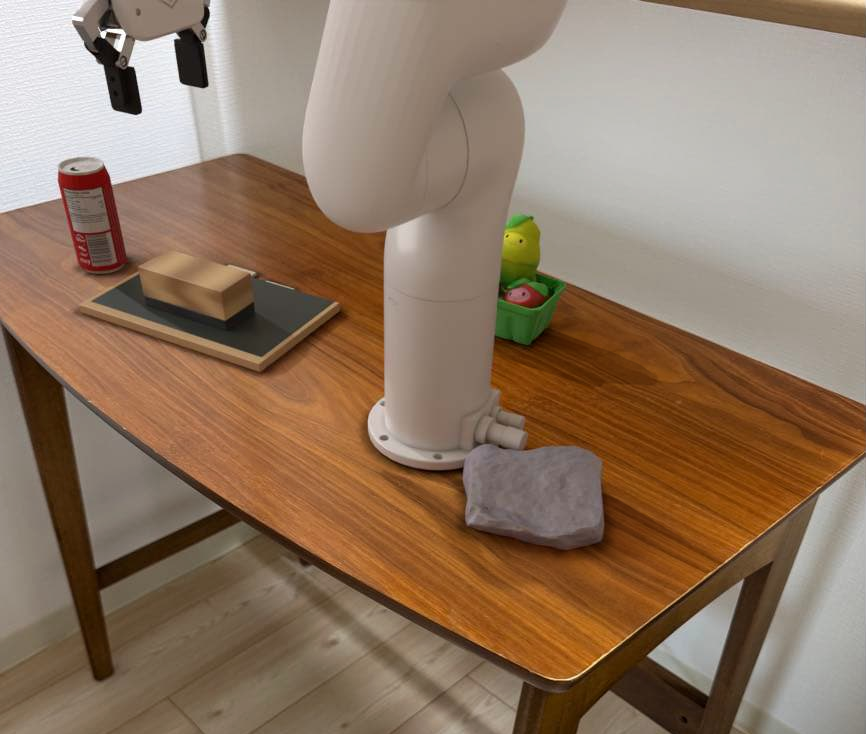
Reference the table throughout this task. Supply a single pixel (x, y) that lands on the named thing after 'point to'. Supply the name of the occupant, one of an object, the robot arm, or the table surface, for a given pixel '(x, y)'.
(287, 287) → the white chalk stick
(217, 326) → the eraser
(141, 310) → the chalkboard
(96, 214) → the soda can
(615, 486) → the table surface
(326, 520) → the table surface
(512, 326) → the fruit basket
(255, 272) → the chalk mark
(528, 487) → the stone block
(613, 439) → the table surface
